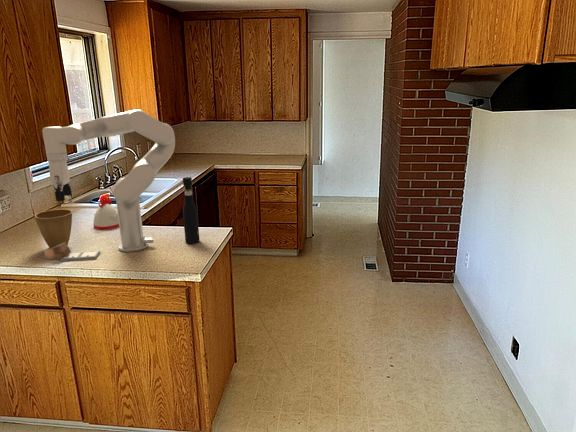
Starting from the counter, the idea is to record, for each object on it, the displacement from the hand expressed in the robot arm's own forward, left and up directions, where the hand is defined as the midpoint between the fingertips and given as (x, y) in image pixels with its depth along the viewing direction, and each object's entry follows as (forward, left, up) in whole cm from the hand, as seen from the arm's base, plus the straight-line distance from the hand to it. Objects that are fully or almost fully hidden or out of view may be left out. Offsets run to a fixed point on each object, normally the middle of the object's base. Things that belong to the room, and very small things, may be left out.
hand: (64, 198), depth 190 cm
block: (+2, +4, -24) cm, 24 cm away
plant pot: (+10, -11, -25) cm, 29 cm away
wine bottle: (-50, -6, -25) cm, 57 cm away
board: (-4, +5, -25) cm, 26 cm away
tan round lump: (+8, +2, -25) cm, 26 cm away
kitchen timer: (-4, -42, -25) cm, 49 cm away
